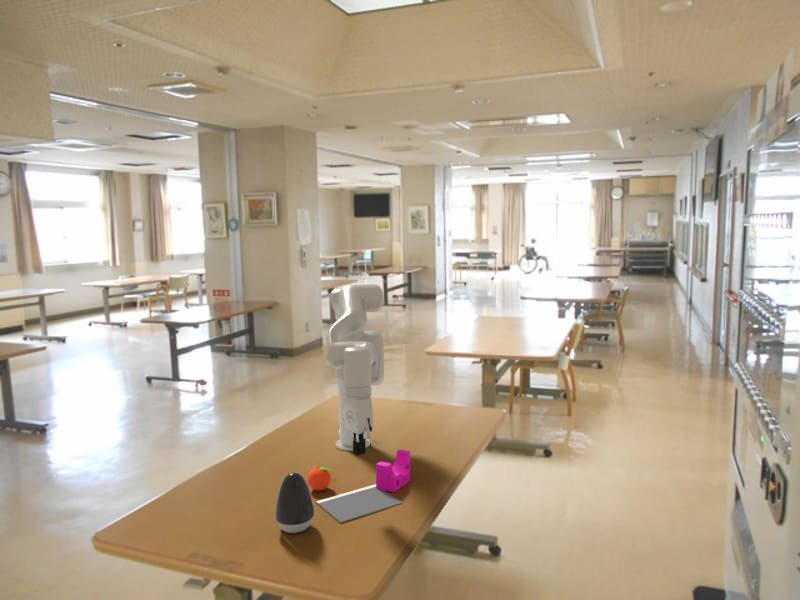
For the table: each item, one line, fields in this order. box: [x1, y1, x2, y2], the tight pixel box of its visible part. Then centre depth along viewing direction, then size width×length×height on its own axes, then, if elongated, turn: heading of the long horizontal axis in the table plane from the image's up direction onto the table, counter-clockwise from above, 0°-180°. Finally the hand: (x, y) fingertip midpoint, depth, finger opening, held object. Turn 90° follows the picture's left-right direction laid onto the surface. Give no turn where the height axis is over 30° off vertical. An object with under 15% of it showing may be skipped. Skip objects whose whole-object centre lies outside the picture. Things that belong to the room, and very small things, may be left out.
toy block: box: [375, 449, 411, 493], centre depth 185 cm, size 15×6×8 cm, turn 152°
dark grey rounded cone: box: [274, 471, 315, 534], centre depth 157 cm, size 10×10×15 cm
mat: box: [315, 483, 403, 524], centre depth 172 cm, size 15×20×1 cm
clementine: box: [307, 466, 334, 492], centre depth 181 cm, size 8×7×7 cm
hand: (359, 453), depth 169 cm, fingers closed
